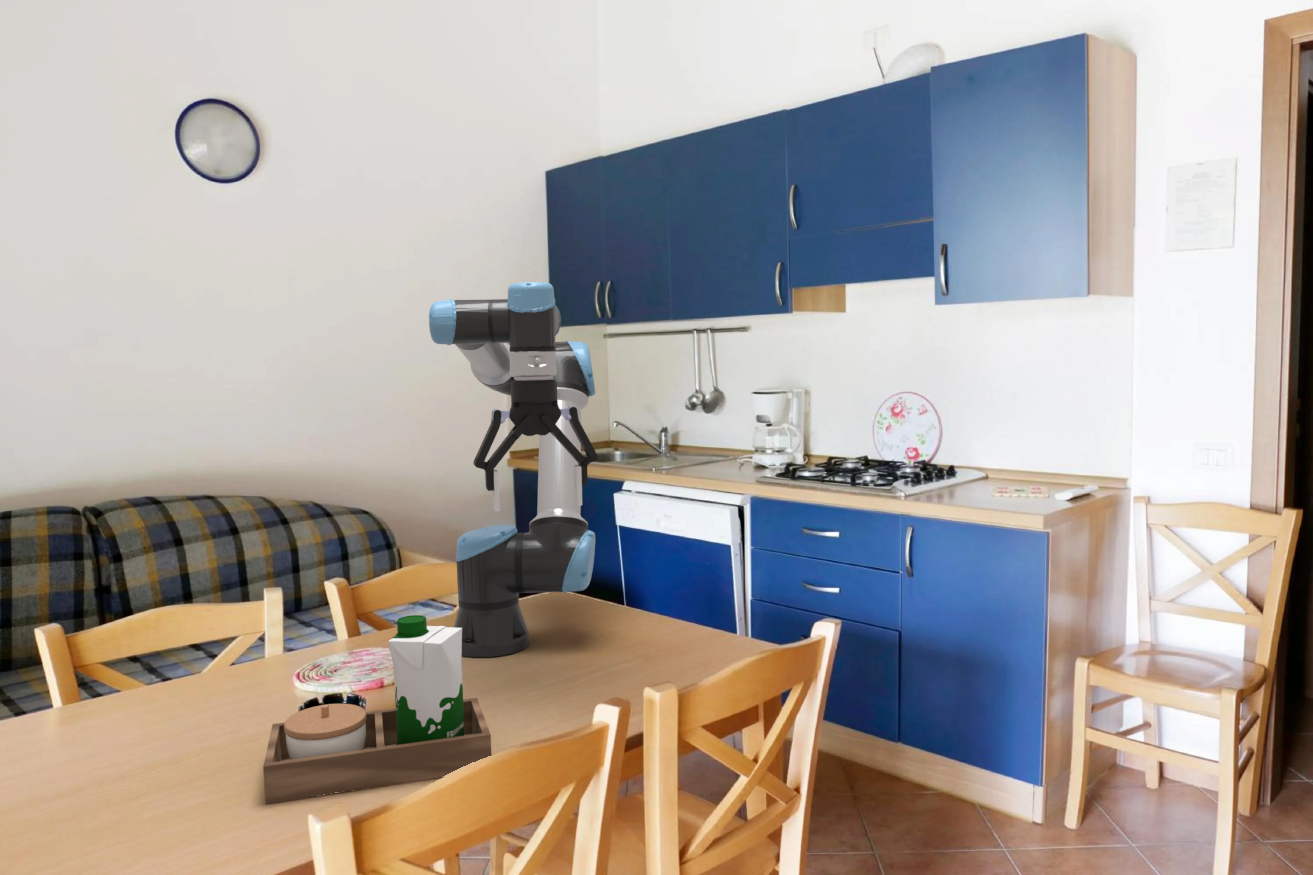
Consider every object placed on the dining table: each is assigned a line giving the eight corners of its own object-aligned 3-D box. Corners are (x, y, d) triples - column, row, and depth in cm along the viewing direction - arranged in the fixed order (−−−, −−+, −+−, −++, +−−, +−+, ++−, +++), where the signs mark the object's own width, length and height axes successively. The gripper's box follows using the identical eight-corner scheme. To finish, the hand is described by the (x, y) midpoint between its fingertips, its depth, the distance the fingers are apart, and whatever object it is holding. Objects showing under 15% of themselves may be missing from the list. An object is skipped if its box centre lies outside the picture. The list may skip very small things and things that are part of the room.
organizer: (274, 757, 137) (272, 723, 137) (478, 729, 146) (477, 697, 145) (265, 804, 123) (263, 766, 122) (492, 769, 131) (490, 734, 131)
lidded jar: (299, 757, 137) (296, 693, 136) (376, 753, 138) (372, 690, 137) (276, 791, 126) (272, 722, 126) (359, 786, 127) (355, 718, 126)
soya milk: (416, 741, 142) (410, 609, 140) (473, 745, 140) (468, 612, 138) (388, 767, 133) (381, 627, 131) (449, 771, 131) (442, 629, 129)
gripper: (458, 381, 148) (463, 516, 150) (613, 376, 156) (617, 505, 158) (453, 380, 155) (458, 509, 157) (602, 375, 163) (605, 498, 165)
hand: (538, 507), depth 157 cm, fingers open, 13 cm apart
